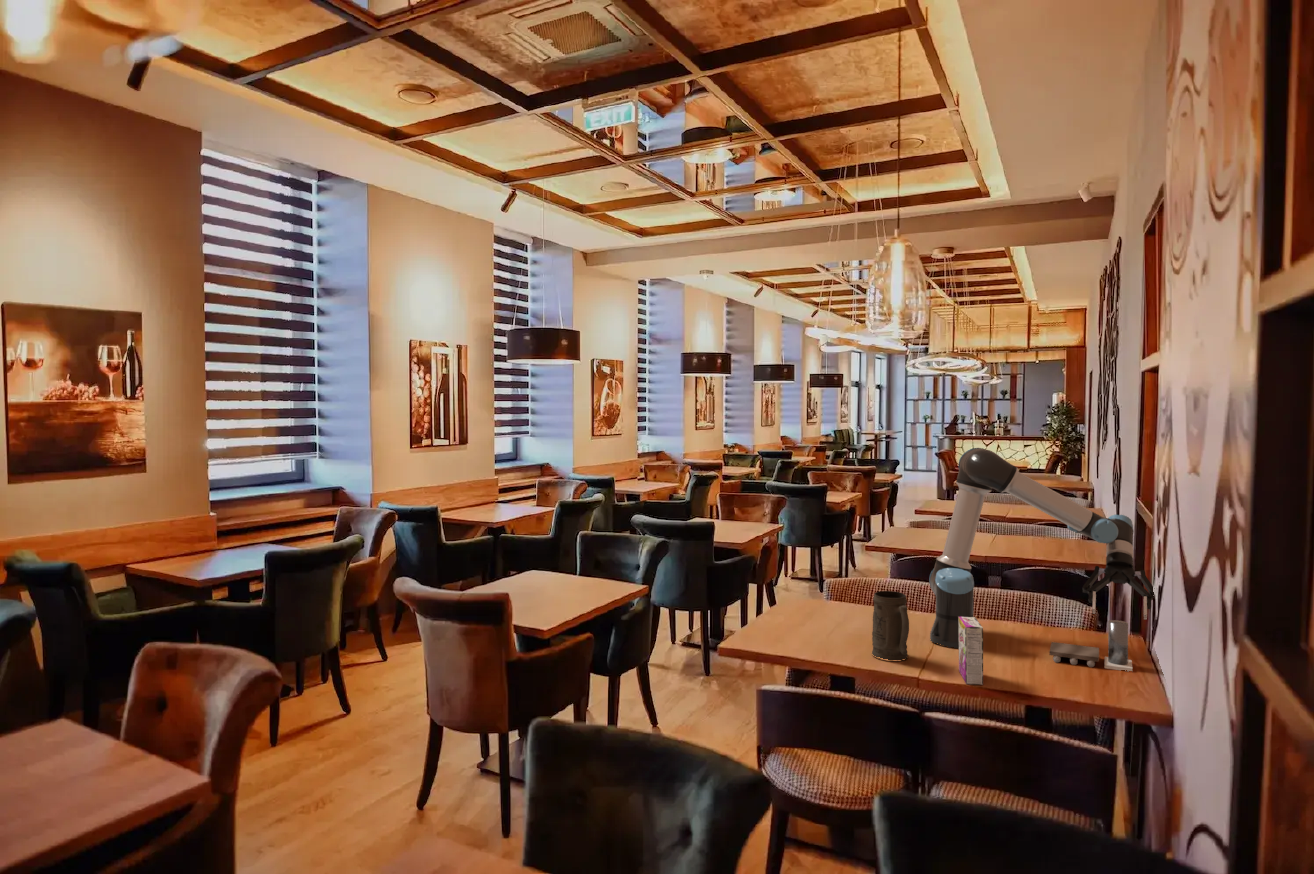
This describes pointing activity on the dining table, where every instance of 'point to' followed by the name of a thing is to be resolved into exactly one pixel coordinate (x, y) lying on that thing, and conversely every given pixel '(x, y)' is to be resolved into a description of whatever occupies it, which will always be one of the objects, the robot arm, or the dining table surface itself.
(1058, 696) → the dining table surface
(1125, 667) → the plate
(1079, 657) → the roller slab
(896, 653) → the beer stein
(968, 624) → the candy bar box
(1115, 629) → the steel roller
